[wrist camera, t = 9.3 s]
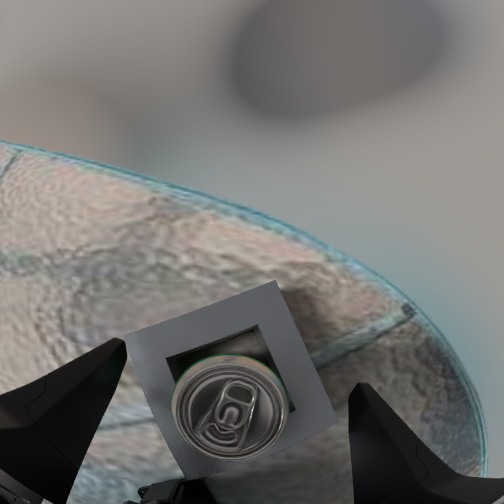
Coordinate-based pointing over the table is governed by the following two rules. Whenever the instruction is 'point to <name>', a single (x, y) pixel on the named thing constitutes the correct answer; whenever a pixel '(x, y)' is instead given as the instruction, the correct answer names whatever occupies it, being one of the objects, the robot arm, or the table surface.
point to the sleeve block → (217, 330)
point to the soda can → (229, 407)
